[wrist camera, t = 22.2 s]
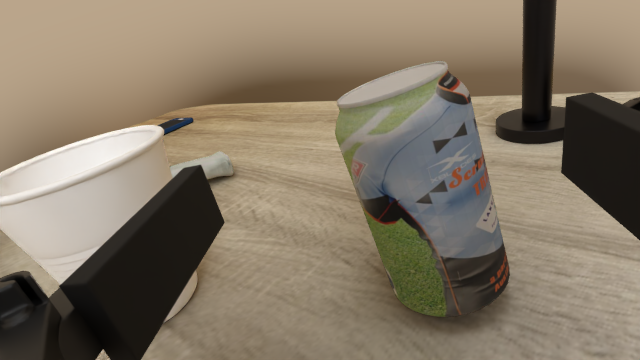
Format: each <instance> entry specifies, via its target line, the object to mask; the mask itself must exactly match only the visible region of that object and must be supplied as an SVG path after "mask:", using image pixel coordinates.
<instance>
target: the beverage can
mask: <svg viewBox="0 0 640 360" xmlns="http://www.w3.org/2000/svg"><path fill="white" fill-rule="evenodd" d="M337 105H338V107H339V110H340V112H339V116H338V119H337V124H336V131H335V134H336V139H337V141H338V144H339V147H340V149H341V152H342V155H343V157H344V160H345V163H346V165H347V168H348V171H349V173H350V176H351V179H352V181H353V184H354V187H355V189H356V192H357V195H358V198H359V200H360V203H361V206H362V208H363V211H364V214H365V216H366V219H367V222H368V224H369V227H370V230H371V232H372V235H373V238H374V240H375V243H376V246H377V248H378V251H379V254H380V256H381V259H382V262H383V264H384V267H385V270H386V272H387V275H388V278H389V280H390V283H391V286H392V288H393V291H394V293H395V295H396V297H397V298H398V299H399V300H400V302H401V303H403V304H404V305H405V306H406V307H408V308H410V309H412V310H414V311H416V312H419V313H422V314H425V315H430V316H439V317H450V316H459V315H463V314H468V313H471V312H474V311H476V310H479V309H481V308H483V307H485V306H487V305H489V304H490V303H491V302H493V301H494V300H495V299H496V298H498V297H499V295H500V294H501V293H502V292H503V291H504V289H505V287H506V285H507V284H508V280H509V276H510V274H509V265H508V261H507V256H506V252H505V247H504V243H503V239H502V234H501V230H500V225H499V221H498V217H497V212H496V208H495V203H494V199H493V195H492V190H491V186H490V181H489V177H488V173H487V168H486V164H485V159H484V155H483V151H482V146H481V142H480V137H479V133H478V129H477V124H476V120H475V116H474V111H473V107H472V102H471V98H470V94H469V92H468V90H467V88H466V87H465V86H464V84H463V83H462V82H461V81H459V80H458V79H457V78H456V77H454V76H453V75H452V74H450V73H449V71H448V66H447V63H446V62H442V61H439V62H431V63H425V64H421V65H417V66H413V67H410V68H406V69H403V70H400V71H397V72H394V73H391V74H388V75H386V76H383V77H380V78H378V79H375V80H373V81H370V82H368V83H366V84H364V85H361V86H359V87H357V88H355V89H354V90H352V91H350V92H348V93H346V94H345V95H343V96H342V97H340V98H339V99H338V101H337Z"/></svg>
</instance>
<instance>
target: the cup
mask: <svg viewBox="0 0 640 360" xmlns="http://www.w3.org/2000/svg"><path fill="white" fill-rule="evenodd" d="M163 136H164V129H163V128H162V127H160V126H156V125H145V126H136V127H131V128H126V129H121V130H117V131H113V132H109V133H105V134H101V135H98V136H94V137H91V138H88V139H84V140H81V141H78V142H75V143H72V144H69V145H66V146H64V147H61V148H58V149H55V150H53V151H50V152H47V153H45V154H42V155H39V156H37V157H35V158H32V159H30V160H27V161H25V162H22V163H20V164H18V165H16V166H13V167H11V168H9V169H7V170H5V171H3V172H1V173H0V230H2V231H3V232H4V233H5V234H6V235H7V236H8V237H9V238H10V239H11V240H12V241H13V242H15V243H16V244H17V245H18V246H19V247H20V248H21V249H22V250H23V251H24V252H25V253H26V254H28V255H29V256H30V257H32V259H33V260H34V261H36V262H37V263H38V264H39V265H40V266H41V267H42V268H43V269H45V271H46V272H47V273H49V274H50V275H51V276H52V277H53V278H54V279H55V280H56V281H57V282H58V283H59V284H60V285H61V284H62V283H63V282H64V281H65V280H66V279H67V278H68V277H69V276H70V275H71V274H72V273H73V272H75V271H76V270H77V269H78V268H79V267H80V266H81V265H82V264H83V263H84V262H85V261H86V260H87V259H88V258H89V257H90V256H91V255H92V254H93V253H95V252H96V251H97V250H98V249H99V248H100V247H101V246H102V245H103V244H104V243H105V242H106V241H107V240H108V239H109V238H110V237H111V236H112V235H113V234H115V233H116V232H117V231H118V230H119V229H120V228H121V227H122V226H123V225H124V224H125V223H126V222H127V221H128V220H129V219H130V218H131V217H132V216H133V215H134V214H136V213H137V212H138V211H139V210H140V209H141V208H142V207H143V206H144V205H145V204H146V203H147V202H148V201H149V200H150V199H151V198H152V197H153V196H154V195H156V194H157V193H158V192H159V191H160V190H161V189H162V188H163V187H164V186H165V185H166V184H167V183H168V182H169V181H170V180H171V179H172V174H171V170H170V166H169V162H168V158H167V154H166V150H165V147H164V143H163V139H162V138H163ZM197 282H198V279H197V273H196V270H195V272H194V273H193V275H192V277H191V278H190V280H189V282H188V283H187V285H186V286H185V288H184V290H183V291H182V293H181V295H180V296H179V298H178V300H177V301H176V303H175V304H174V306H173V308H172V309H171V311H170V313H169V314H168V316H167V318H166V319H165V321H164V322H166V321H167V320H169V319H170V318H172V317H173V316H174V315H175V314H177V313H178V312H179V311H180V310H181V309H182V308H183V307H184V306H185V305H186V304H187V302H188V301H189V299H190V298H191V296H192V294H193V292H194V290H195V288H196V286H197Z"/></svg>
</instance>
